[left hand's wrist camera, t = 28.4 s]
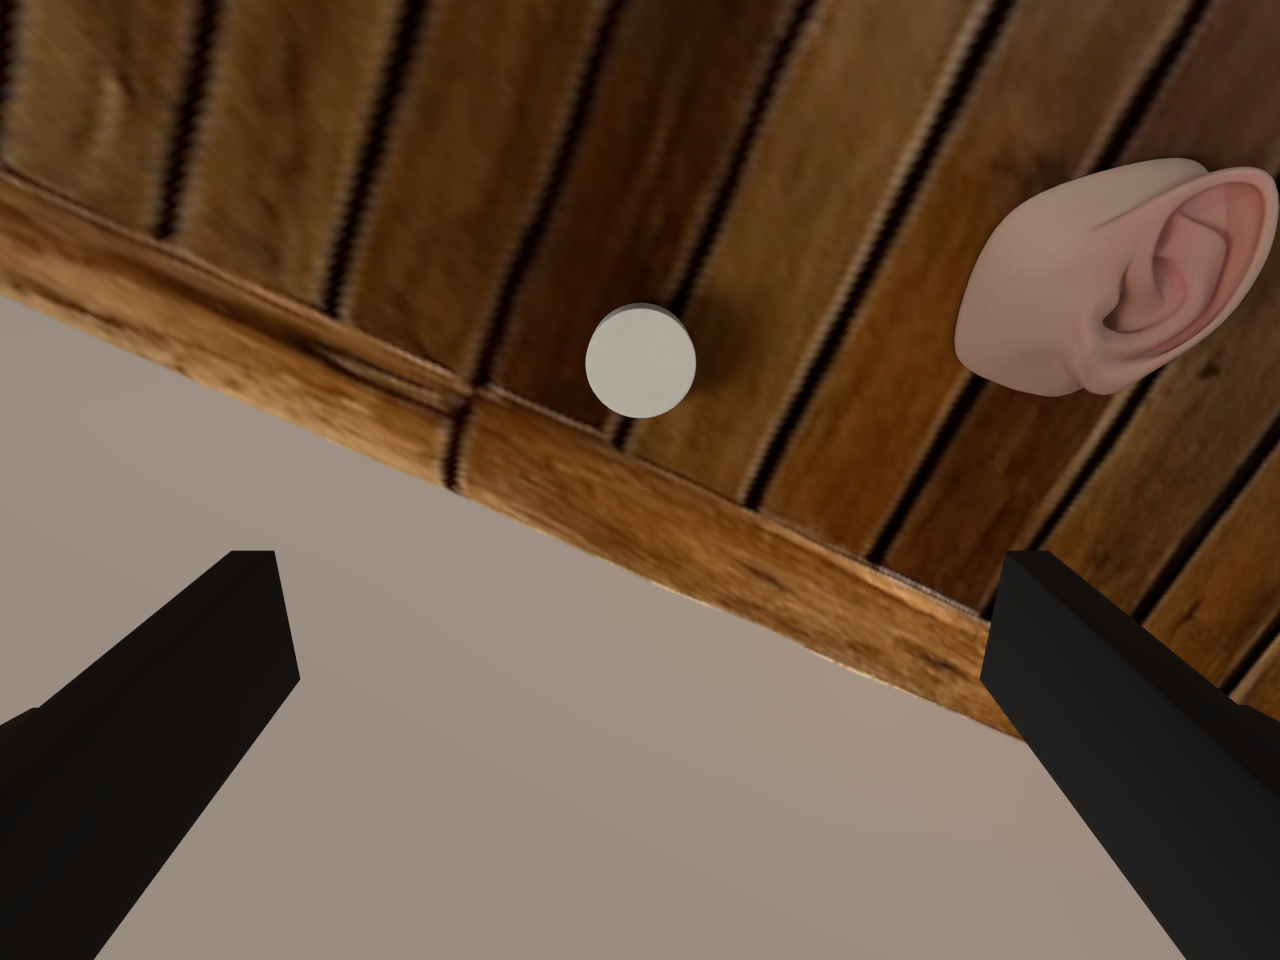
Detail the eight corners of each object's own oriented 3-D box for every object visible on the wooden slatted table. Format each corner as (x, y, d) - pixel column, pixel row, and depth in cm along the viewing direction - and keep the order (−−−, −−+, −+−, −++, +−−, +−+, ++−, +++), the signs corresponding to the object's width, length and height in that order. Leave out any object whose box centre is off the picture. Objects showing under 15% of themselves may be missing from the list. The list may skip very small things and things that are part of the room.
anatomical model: (983, 425, 35) (1000, 176, 31) (949, 406, 39) (961, 181, 35) (1256, 398, 34) (1309, 142, 30) (1196, 381, 38) (1236, 150, 34)
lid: (690, 406, 39) (694, 418, 37) (589, 405, 39) (586, 417, 37) (694, 303, 37) (698, 308, 35) (587, 302, 37) (584, 307, 35)
